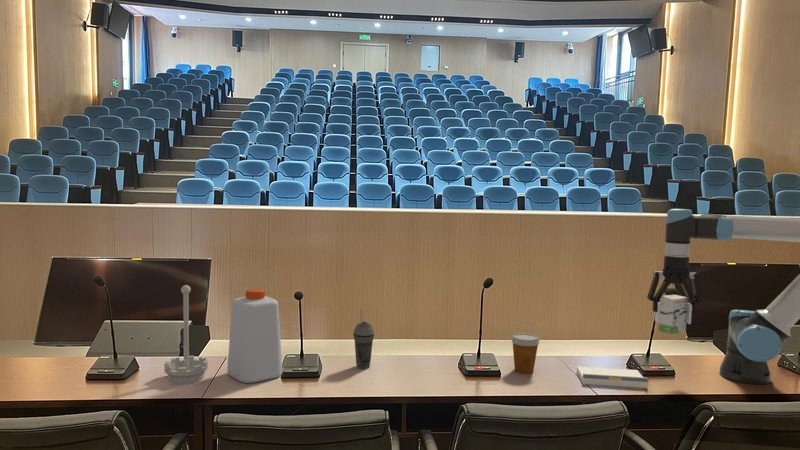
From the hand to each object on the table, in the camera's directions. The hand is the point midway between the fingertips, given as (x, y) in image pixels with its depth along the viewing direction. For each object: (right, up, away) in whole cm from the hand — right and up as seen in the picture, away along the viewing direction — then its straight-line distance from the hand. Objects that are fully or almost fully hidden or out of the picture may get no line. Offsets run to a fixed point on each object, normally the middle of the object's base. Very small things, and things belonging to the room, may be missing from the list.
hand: (672, 322), depth 200 cm
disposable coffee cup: (-48, -18, +6) cm, 52 cm away
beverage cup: (-104, -17, +6) cm, 105 cm away
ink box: (0, -3, 0) cm, 3 cm away
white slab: (-21, -19, -1) cm, 28 cm away
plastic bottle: (-138, -17, -5) cm, 139 cm away
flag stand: (-159, -17, -9) cm, 160 cm away
